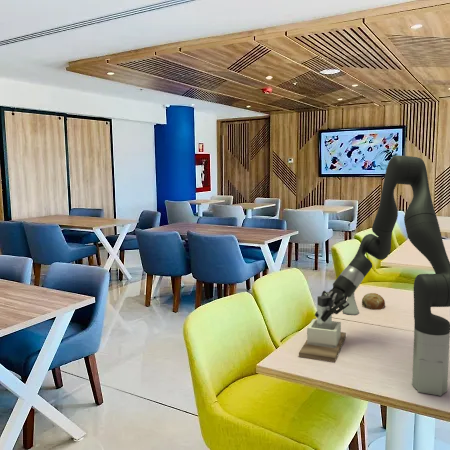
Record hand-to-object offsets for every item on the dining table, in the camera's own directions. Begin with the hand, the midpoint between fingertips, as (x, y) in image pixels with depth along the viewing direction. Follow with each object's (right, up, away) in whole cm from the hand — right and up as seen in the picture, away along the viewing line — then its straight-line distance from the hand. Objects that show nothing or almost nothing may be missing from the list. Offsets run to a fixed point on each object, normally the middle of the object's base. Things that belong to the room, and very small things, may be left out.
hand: (319, 318), depth 159 cm
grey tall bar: (+2, -6, +2) cm, 7 cm away
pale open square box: (+2, -8, +2) cm, 9 cm away
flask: (+21, -5, +37) cm, 43 cm away
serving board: (+2, -10, +1) cm, 10 cm away
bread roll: (+34, -4, +45) cm, 57 cm away
